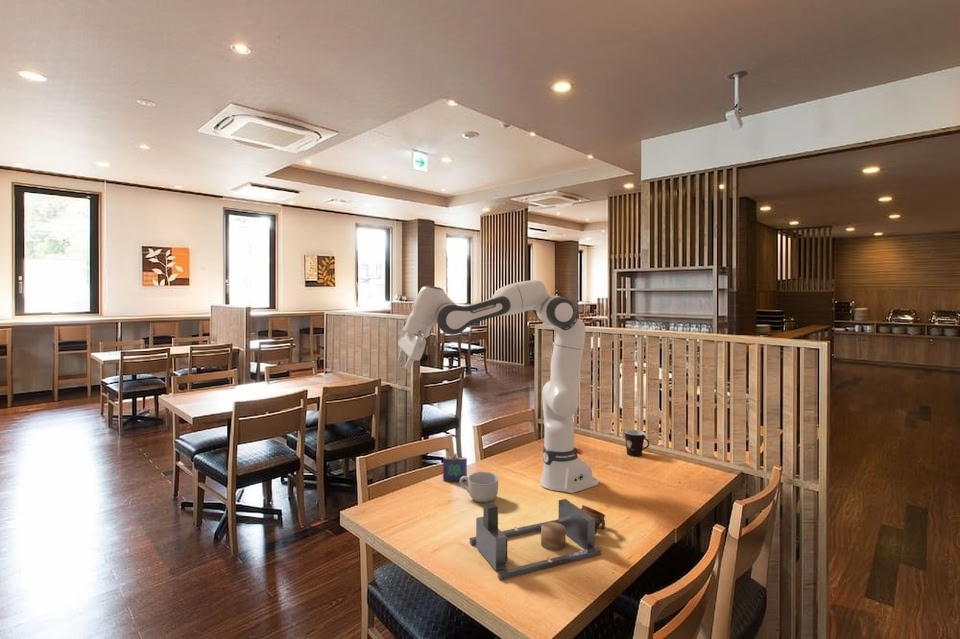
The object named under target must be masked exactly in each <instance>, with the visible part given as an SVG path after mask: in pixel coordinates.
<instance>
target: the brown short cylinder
mask: <svg viewBox="0 0 960 639" xmlns="http://www.w3.org/2000/svg"><path fill="white" fill-rule="evenodd" d="M547 522H548V521H547ZM540 532H541V533H540V545H541V547H542V548H544V549H545V550H548V551H552V552H553V551H554V552H555V551H562V550H564V549H565V547H566V543H567V542H566V536H567V535H566V528H565V526H564V525H562V524H559V523H555V522H548V523H545V524H543V525H542V526H541V530H540Z"/></svg>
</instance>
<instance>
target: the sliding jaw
mask: <svg viewBox="0 0 960 639" xmlns="http://www.w3.org/2000/svg"><path fill="white" fill-rule="evenodd" d="M482 510H483V516H479V517H476V518H475V519H476V520H475V529H476V530H475V533H476V534H475V537H476V545H475V548H476V549H477V550H478V551H479V553H481V555H482V556H483V557H484V558H485V560H486V561H487V562H488V563H489V565H491V567H492V568H493V569H494V571H501V570H505V569H507V562H508V538H506V536H505V535H504V534H503V533H502V532H501V530H500V529H499V506H498V505H497V504H496V503H495V502H486V503H483V509H482Z"/></svg>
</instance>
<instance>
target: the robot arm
mask: <svg viewBox="0 0 960 639" xmlns="http://www.w3.org/2000/svg"><path fill="white" fill-rule="evenodd" d="M528 311H533V313H534V315H535V317H536V318H537V320H538V321H539V322H541V323H543V324H546V325H548V326H551V327H554V330H555V338H554V344H553V348H552V354H551V360H550V380H548V381H546V382H545V384H544V385H543V387H542V391H541V395H542V396H541V399H542V414H543V424H544V436H543V437H544V442H543V443H544V445H543V447H542V449H543V450H542V458H543V465H542V466H543V467H542V472H541V477H540V480H539V484H540V486H541V487H542V488H545V489H547V490H551V491H556V492H563V493H569V494H573V493H576V492H577V493H578V492H580V491H583V490H587V489H590V488H592V487H593V488H594V487H596V486H599V484H600V483H599V479H597V478H596V477H595V476H593V469H592V468H591V466H590V465H589V464H588V463H587V462H586V461H584V460H583V459H582V458H580V457H579V456H578V455H580V456H582V455H583V453H584V450H583V449H581V448H576V446H575V426H574V425H575V424H574V421H573V414H575V413H576V411H577V410H578V408H579V406H580V402H579V401H580V399H579V396H580V395H579V393H580V372H581V366H582V361H583V360H582V359H583V354H584V349H585V343H586V341H585V340H586V325H585V323H584V322H583V320H581V319H579V318H578V316H577V310H576V307H575V305H574V303H573V301H572V300H570V299H569V298H567V297H564V296H560V295H550V294H549V293H548V290H547V287H546V285H545V283H543V282H542V281H541V280H537V279H531V280H524V281H518V282H514V283H513V282H512V283H509V284H507V285H504V286H502V287H500V288H498V289H497V290H495V292H494V293H493V295H492V297H489V299H486V300H483V301H479V302H477V303H473V304H469V305H465V306H463V305H457V304H455V302H454V301H453V300H452V299H451V298H450V297H449V296H448V294H447V293H446V292H445V290H444V288H442V287H439V286H433V285H429V284H427V285H424V286H422V287H421V288H420V290H419V291H418V294H417V296H416V297H415V300H414V302H413V305H412V311H411V312H410V314H409V315H408V318H407V319H406V320H404V321H403V323H402V329H401V331H400V335H399V338H398V342H397V346H398V347H399V348H400V349H399V355H398V357H397V361H398V362H399V363H403V362H404V361H405V356H406V355H407V357H408V358H407V361H406V362H405V363H404V366H403V367H404V369H405V370H407V371H408V370H410V369H411V366H413V364H414V362H415V361H418V362H419V361H420V360H421V359H422V358H423V357H422V356H423V355H424V352H425V348H426V344H427V340H426V339H425V338H428V337H429V334H430V332H431V330H432V327H433V325H434V324H437V325H438V327H439V329H440V330H441V332H443V333H445V334H447V335H450V336H451V335H452V336H453V335H457V334H458V335H459V334H460V333H463V331H465V330H466V329H467V328H468V327H470V326H471V325H473V324H476V323H479V322H482V321H487V320H489V319H492V318H495V317H501V316H502V317H504V316H513V315H516V314H522V313H524V312H528Z"/></svg>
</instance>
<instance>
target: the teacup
mask: <svg viewBox="0 0 960 639" xmlns="http://www.w3.org/2000/svg"><path fill="white" fill-rule="evenodd" d="M463 479H466V480H467V481H466V482H467V485H468V486H466V485H465V483H464V482H462V480H463ZM459 484H460V487H462V488H463V489H464V490H466V492H467V493H468V494H469V496H470V498H471V499H472V500H474V501H475V502H477V503H480V504H481V503H483V504H487V503H491V501H492V500H495V499H496V497H497V495H498V493H499V492H498V491H499V476H498V475H497V474H496V473H493V472H490V471H475V472H473V473H471V474H469V476H468V475H467V476H462V477H461V478H460V482H459Z"/></svg>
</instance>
